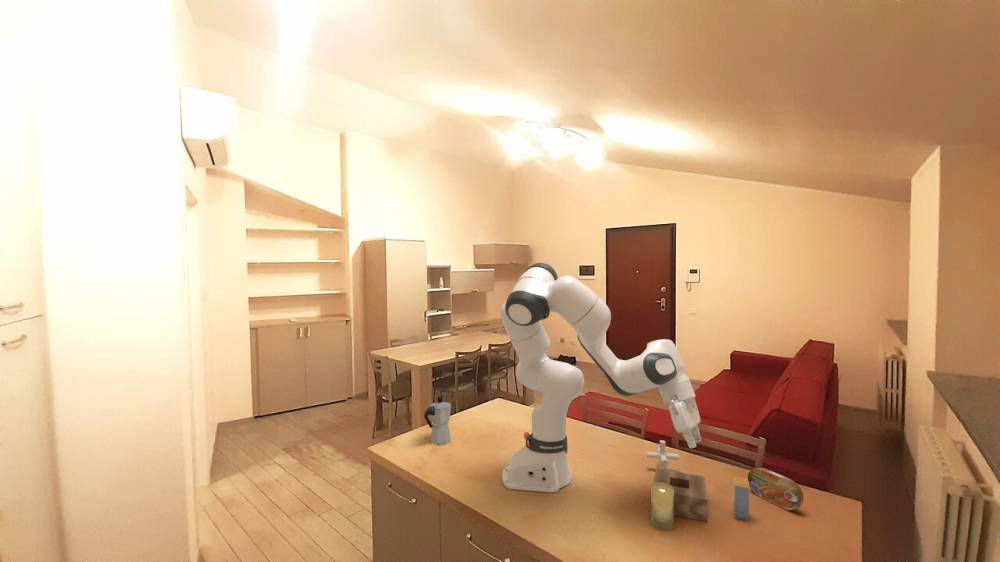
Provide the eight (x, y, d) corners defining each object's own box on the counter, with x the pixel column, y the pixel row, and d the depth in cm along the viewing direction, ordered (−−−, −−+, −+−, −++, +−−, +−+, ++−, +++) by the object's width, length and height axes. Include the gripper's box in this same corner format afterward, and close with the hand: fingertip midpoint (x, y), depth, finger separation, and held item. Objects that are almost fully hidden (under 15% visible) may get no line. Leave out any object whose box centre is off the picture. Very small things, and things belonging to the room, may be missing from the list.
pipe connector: (681, 479, 138) (681, 448, 138) (649, 476, 140) (649, 446, 140) (675, 465, 148) (675, 436, 148) (645, 462, 150) (645, 434, 150)
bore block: (652, 510, 121) (652, 489, 120) (655, 487, 133) (655, 468, 133) (706, 521, 115) (707, 499, 115) (705, 496, 128) (705, 476, 127)
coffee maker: (443, 433, 178) (443, 390, 178) (459, 438, 173) (458, 394, 173) (417, 445, 166) (416, 399, 166) (433, 451, 161) (432, 403, 161)
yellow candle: (655, 530, 111) (655, 493, 111) (648, 518, 117) (648, 482, 116) (677, 530, 111) (677, 492, 111) (668, 517, 117) (668, 482, 117)
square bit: (734, 518, 116) (734, 482, 116) (733, 511, 120) (733, 476, 119) (749, 521, 115) (749, 484, 115) (747, 514, 118) (747, 478, 118)
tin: (746, 491, 131) (747, 463, 130) (753, 488, 132) (753, 461, 132) (798, 516, 117) (798, 486, 117) (805, 514, 118) (805, 484, 118)
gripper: (682, 394, 113) (702, 449, 108) (694, 389, 129) (712, 437, 125) (658, 399, 115) (677, 453, 111) (673, 394, 132) (690, 441, 128)
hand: (695, 444), depth 118 cm, fingers open, 8 cm apart
